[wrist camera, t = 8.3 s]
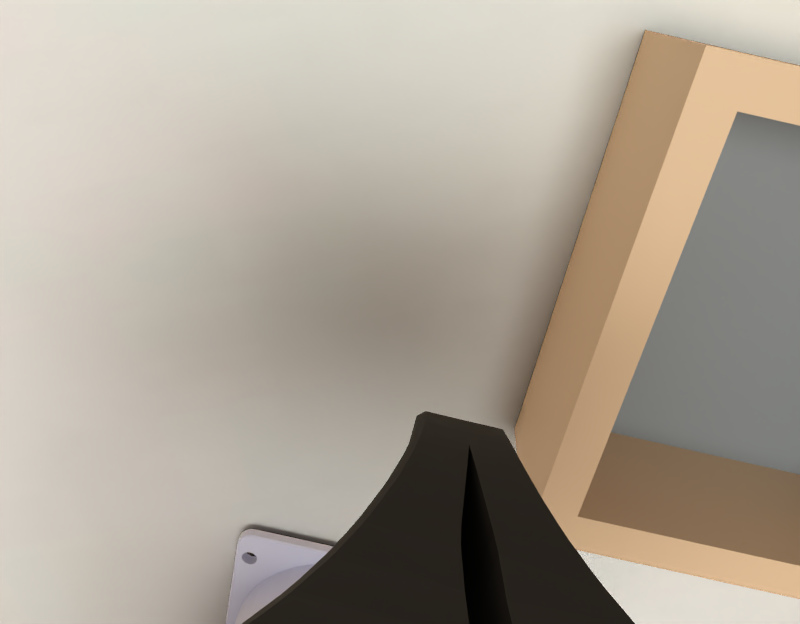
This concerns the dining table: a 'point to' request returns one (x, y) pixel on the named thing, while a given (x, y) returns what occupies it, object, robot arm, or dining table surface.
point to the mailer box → (682, 329)
